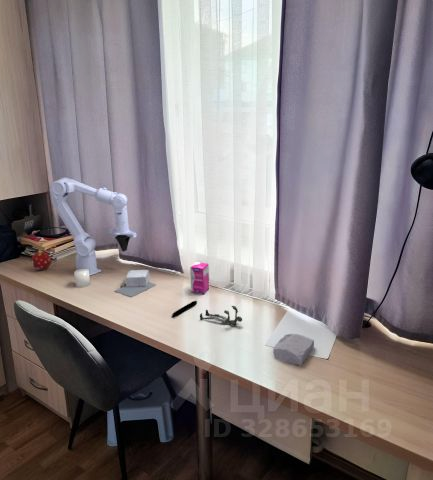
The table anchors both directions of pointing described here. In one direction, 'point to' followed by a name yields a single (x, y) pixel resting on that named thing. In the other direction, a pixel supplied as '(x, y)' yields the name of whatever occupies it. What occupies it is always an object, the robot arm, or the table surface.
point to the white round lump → (82, 278)
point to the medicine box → (137, 278)
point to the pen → (184, 309)
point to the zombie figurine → (224, 319)
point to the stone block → (293, 348)
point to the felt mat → (134, 289)
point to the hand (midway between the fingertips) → (124, 250)
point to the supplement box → (199, 277)
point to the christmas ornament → (41, 260)
